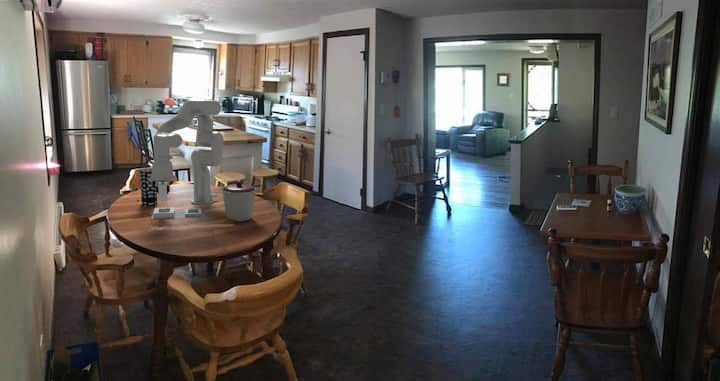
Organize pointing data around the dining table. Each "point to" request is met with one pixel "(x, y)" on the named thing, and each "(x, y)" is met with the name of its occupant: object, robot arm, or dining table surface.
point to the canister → (239, 201)
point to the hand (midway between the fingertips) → (163, 193)
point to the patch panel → (176, 213)
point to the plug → (162, 191)
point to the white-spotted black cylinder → (147, 189)
